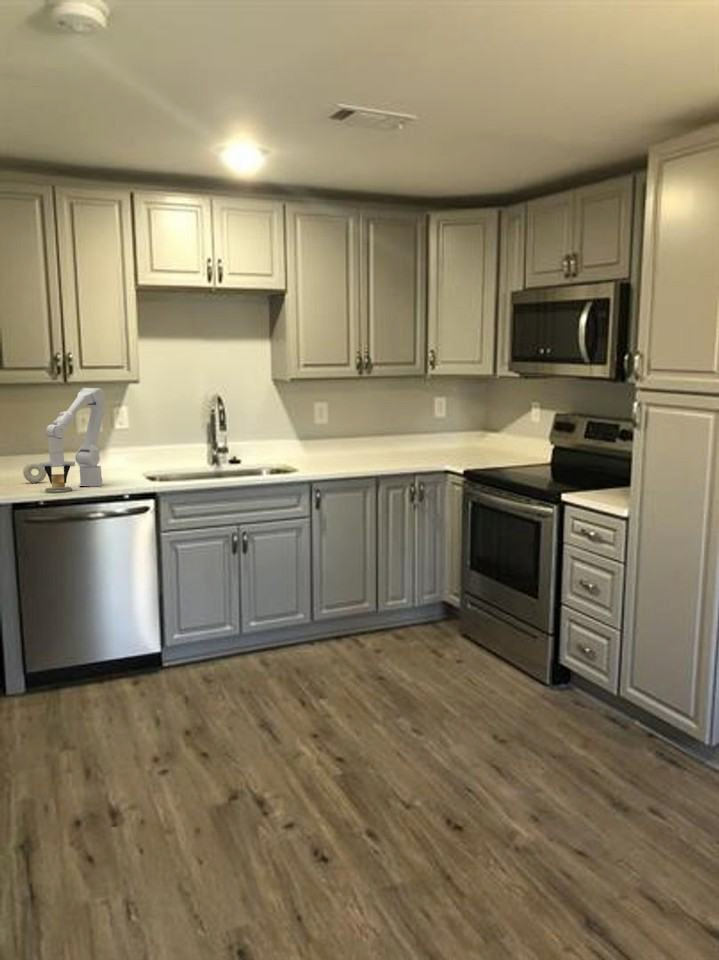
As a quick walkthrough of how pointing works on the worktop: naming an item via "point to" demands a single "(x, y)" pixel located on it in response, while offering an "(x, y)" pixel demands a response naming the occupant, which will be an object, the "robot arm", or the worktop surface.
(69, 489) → the plate
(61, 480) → the cube
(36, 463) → the donut
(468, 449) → the worktop surface
